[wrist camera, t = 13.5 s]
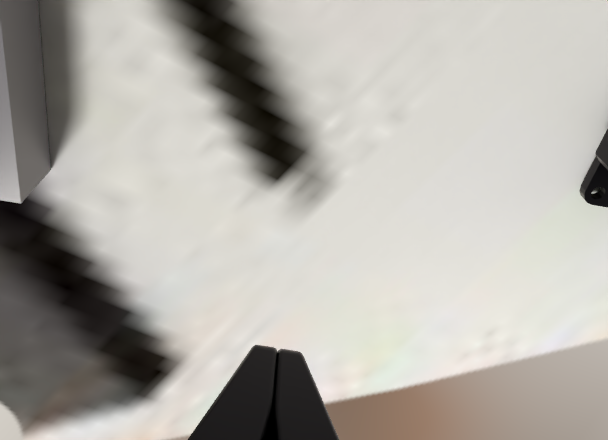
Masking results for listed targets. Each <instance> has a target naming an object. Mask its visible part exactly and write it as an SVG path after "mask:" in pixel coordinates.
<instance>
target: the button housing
mask: <svg viewBox="0 0 608 440" xmlns="http://www.w3.org/2000/svg"><path fill="white" fill-rule="evenodd" d="M50 170H51V165H50V152H49V138H48V125H47V112H46V98H45V85H44V71H43V58H42V45H41V31H40V18H39V4H38V0H0V200H3V201H9V202H15V203H22V202H23V201H24V199H25V198H26V197H27V196H28V195H29V194H30V193H31V192H32V190H33V189H34V188H35V187H36V186H37V185H38V184H39V183H40V181H41V180H42V179H43V178H44V177H45V176H46V175H47V174H48V172H49V171H50Z"/></svg>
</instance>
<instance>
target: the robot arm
mask: <svg viewBox="0 0 608 440" xmlns="http://www.w3.org/2000/svg"><path fill="white" fill-rule="evenodd" d="M596 155H597V156H596V158H595V160H594V162H593V164H592V166H591V167H590V169H589V171H588V173H587V175H586V177H585V179H584V181H583V183H582V185H581V188H580V194H581V196H582V197H583V198H584V199H585V200H586V202H587V203H589V204H592V205H597V206H603V207H608V129H607V131H606V133H605V135H604V137H603V139H602V141H601V143H600V145H599V147H598V149H597V151H596ZM597 187H601V188H600V190H599V191H598V192H596V193H594V194H591V192H592V191H593V190H594V189H595V188H597ZM188 440H339V438H338V435H337V433H336V431H335V429H334V426H333V424H332V421H331V419H330V417H329V415H328V412H327V410H326V407H325V405H324V403H323V401H322V398H321V396H320V394H319V391H318V389H317V387H316V384H315V382H314V380H313V377H312V375H311V373H310V370H309V368H308V366H307V363H306V361H305V359H304V356H303V355H302V353H300V352H298V351H292V350H286V349H280V350H279V351H278V352H277V350H276V349H275V348H273V347H267V346H261V345H255V346H253V347H252V348H251V350H250V351H249V353H248V354H247V356H246V357H245V358H244V360H243V361H242V363H241V364H240V366H239V367H238V368H237V370H236V371H235V373H234V374H233V376H232V377H231V379H230V380H229V381H228V383H227V384H226V386H225V387H224V389H223V390H222V391H221V393H220V394H219V396H218V397H217V399H216V400H215V401H214V403H213V404H212V406H211V407H210V409H209V410H208V411H207V413H206V414H205V416H204V417H203V419H202V420H201V421H200V423H199V424H198V426H197V427H196V429H195V430H194V432H193V433H192V434H191V436H190V437H189V439H188Z"/></svg>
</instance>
